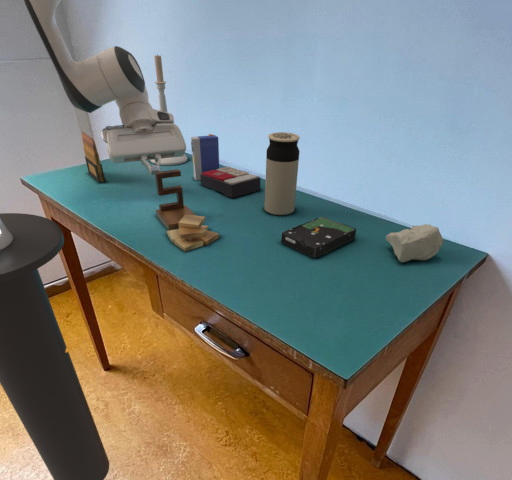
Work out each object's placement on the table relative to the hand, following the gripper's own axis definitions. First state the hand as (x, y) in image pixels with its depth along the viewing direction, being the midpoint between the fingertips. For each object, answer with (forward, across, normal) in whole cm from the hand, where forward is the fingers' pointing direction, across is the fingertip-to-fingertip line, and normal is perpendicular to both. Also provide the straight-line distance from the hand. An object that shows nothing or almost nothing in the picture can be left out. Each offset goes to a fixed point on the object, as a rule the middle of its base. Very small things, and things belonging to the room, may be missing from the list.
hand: (155, 173), depth 104 cm
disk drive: (+33, +26, -23) cm, 48 cm away
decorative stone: (+42, +41, -32) cm, 67 cm away
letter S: (+16, 0, -6) cm, 17 cm away
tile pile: (+24, 0, -14) cm, 27 cm away
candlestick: (-20, +14, +30) cm, 39 cm away
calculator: (+4, +22, +6) cm, 23 cm away
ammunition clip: (-13, -12, +23) cm, 29 cm away
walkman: (-4, +19, +14) cm, 24 cm away
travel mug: (+19, +27, -9) cm, 34 cm away
